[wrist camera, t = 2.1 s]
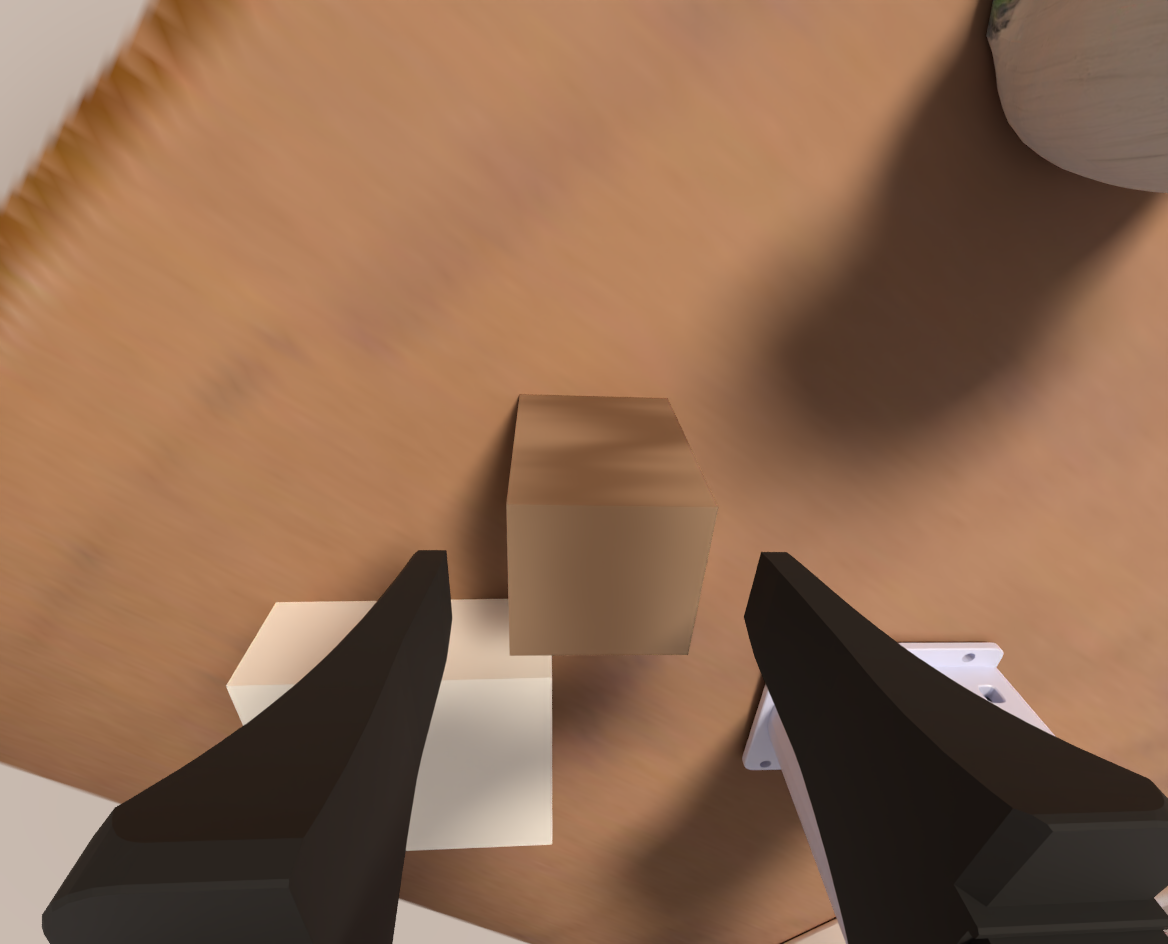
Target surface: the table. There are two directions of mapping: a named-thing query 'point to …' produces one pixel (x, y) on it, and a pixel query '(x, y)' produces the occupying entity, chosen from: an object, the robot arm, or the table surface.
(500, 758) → the ceramic base
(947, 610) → the table surface
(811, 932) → the medicine bottle
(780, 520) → the table surface
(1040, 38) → the decorative ornament
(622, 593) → the walnut block
